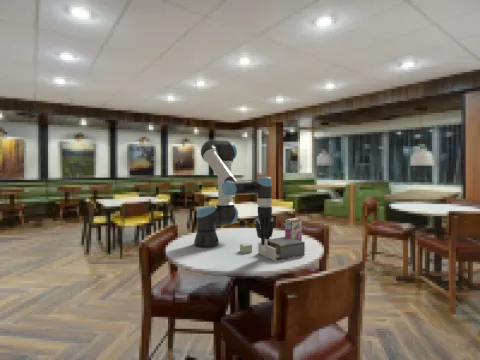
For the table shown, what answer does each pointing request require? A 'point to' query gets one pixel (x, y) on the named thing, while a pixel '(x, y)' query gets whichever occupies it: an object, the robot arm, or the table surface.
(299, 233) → the candy bar box
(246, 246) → the pale green block
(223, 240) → the table surface
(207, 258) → the table surface
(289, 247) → the housing
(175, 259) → the table surface
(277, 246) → the brown flattened rounded piece
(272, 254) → the cream pull-out drawer
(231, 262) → the table surface
